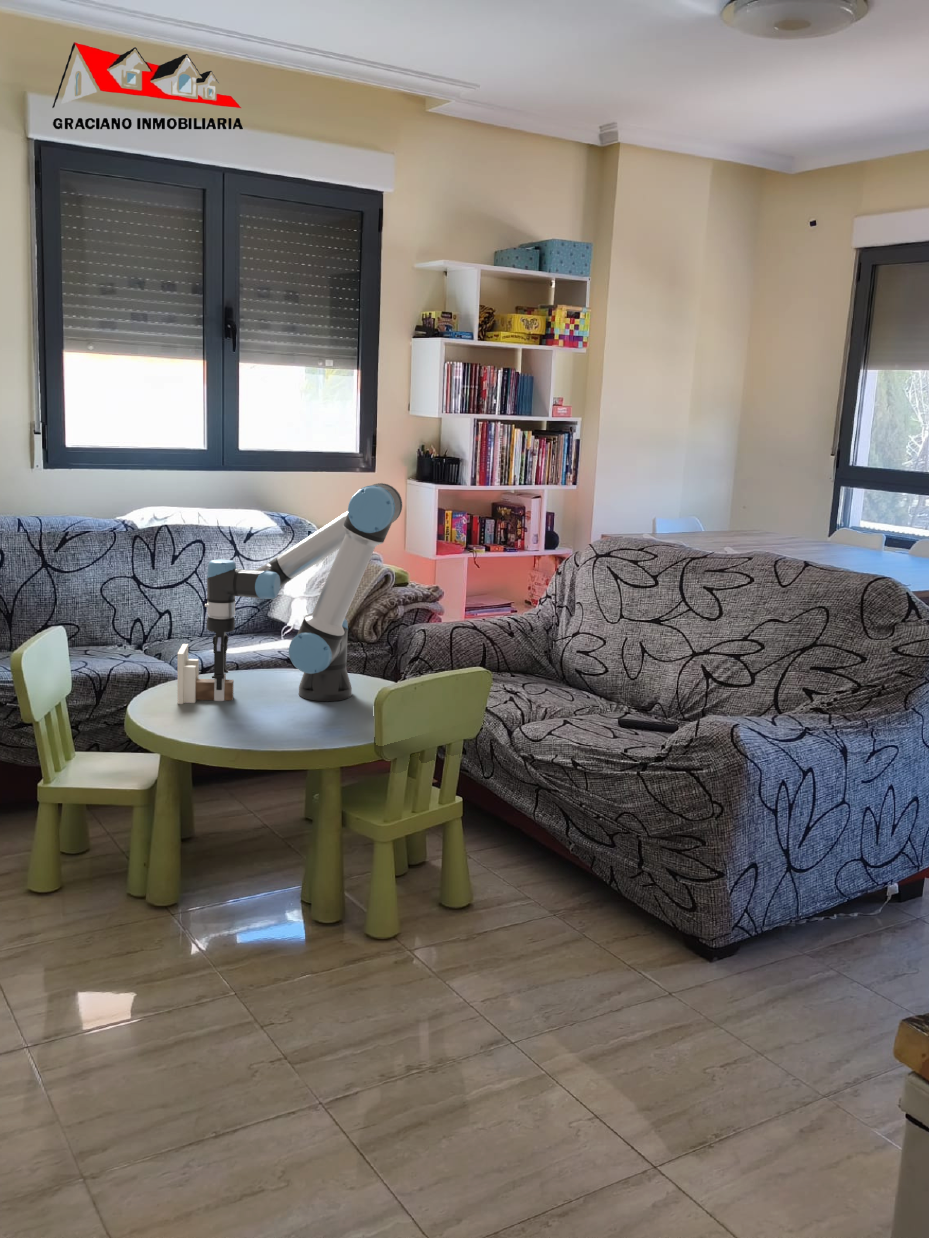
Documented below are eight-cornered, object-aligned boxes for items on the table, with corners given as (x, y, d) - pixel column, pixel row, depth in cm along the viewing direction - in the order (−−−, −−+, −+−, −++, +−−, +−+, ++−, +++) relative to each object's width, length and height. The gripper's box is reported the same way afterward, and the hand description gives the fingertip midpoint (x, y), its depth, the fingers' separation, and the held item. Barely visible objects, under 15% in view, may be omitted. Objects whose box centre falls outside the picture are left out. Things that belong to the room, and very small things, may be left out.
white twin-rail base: (198, 692, 309) (199, 644, 306) (194, 704, 297) (194, 654, 294) (182, 692, 308) (182, 643, 305) (177, 703, 296) (177, 653, 294)
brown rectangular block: (187, 699, 301) (187, 681, 300) (189, 696, 304) (189, 678, 303) (232, 700, 302) (232, 682, 301) (233, 696, 306) (233, 679, 305)
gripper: (209, 609, 307) (208, 689, 311) (203, 622, 290) (203, 706, 295) (236, 610, 308) (235, 690, 312) (232, 622, 291) (231, 707, 296)
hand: (219, 698), depth 304 cm, fingers closed on brown rectangular block, 4 cm apart
